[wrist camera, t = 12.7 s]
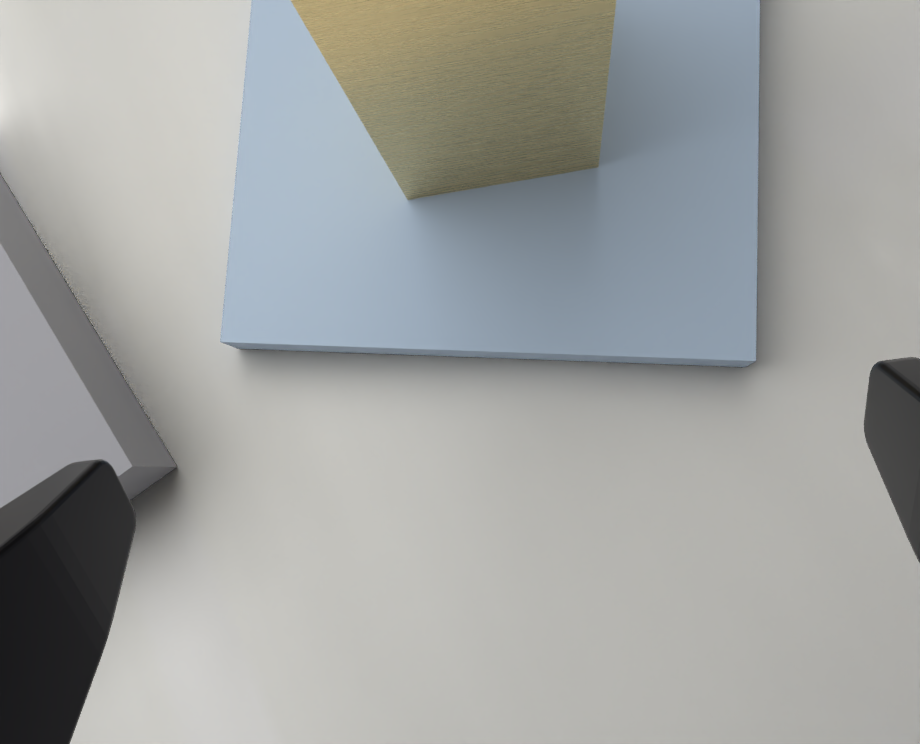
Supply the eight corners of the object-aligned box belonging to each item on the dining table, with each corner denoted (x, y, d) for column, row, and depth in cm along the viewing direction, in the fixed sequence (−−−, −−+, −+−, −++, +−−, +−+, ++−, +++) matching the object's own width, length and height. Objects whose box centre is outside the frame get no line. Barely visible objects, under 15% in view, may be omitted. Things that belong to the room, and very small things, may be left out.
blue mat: (745, 367, 18) (756, 361, 17) (238, 348, 19) (220, 342, 18) (751, -123, 19) (761, -156, 18) (278, -101, 21) (263, -129, 20)
